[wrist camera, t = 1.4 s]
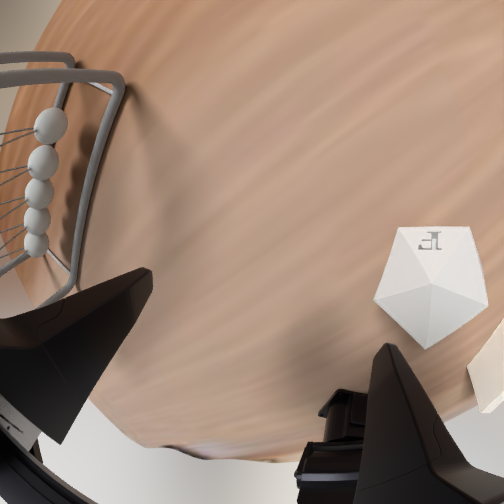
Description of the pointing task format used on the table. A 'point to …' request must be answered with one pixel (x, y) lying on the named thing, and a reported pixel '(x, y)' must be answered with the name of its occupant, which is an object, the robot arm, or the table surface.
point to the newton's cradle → (46, 158)
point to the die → (432, 281)
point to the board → (489, 372)
